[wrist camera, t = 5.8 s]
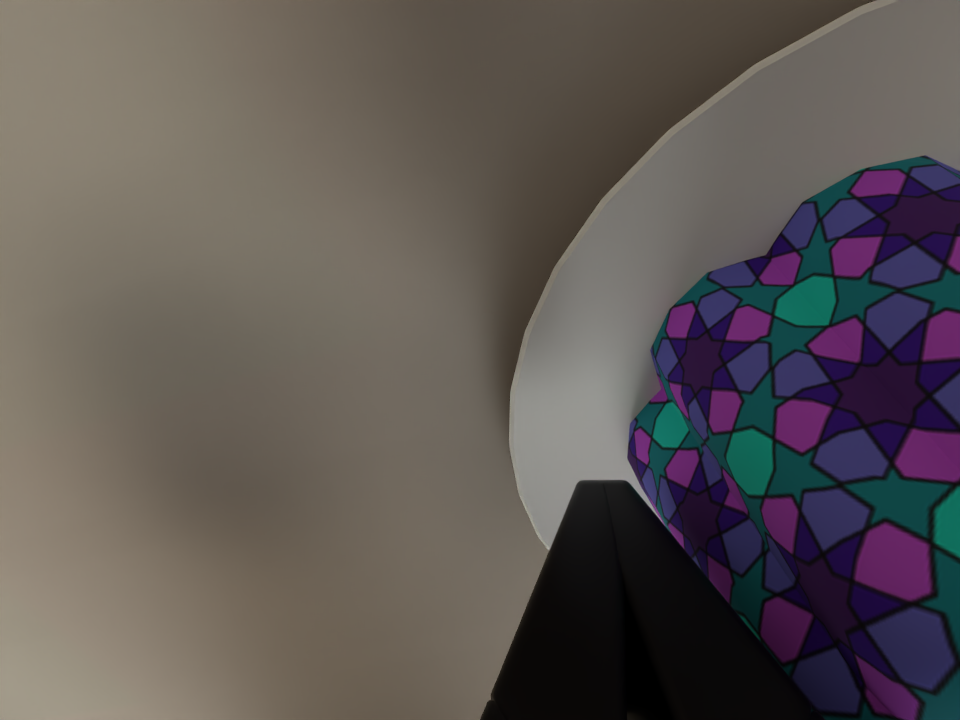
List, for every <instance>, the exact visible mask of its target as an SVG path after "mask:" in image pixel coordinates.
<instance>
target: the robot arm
mask: <svg viewBox="0 0 960 720" xmlns="http://www.w3.org/2000/svg"><path fill="white" fill-rule="evenodd" d="M811 710H812V705H811V703H810V701H809V700H808V699H807V698H806V696H805V695H804V694H803V693H802V692H801V690H800V689H799V688H798V687H797V685H796V684H795V683H794V682H793V681H792V679H791V678H790V677H789V676H788V675H787V673H786V672H785V671H784V670H783V668H782V667H781V666H780V665H779V664H778V662H777V661H776V660H775V659H774V658H773V656H772V655H771V654H770V653H769V652H768V650H767V649H766V648H765V647H764V645H763V644H762V643H761V642H760V641H759V639H758V638H757V637H756V636H755V635H754V633H753V632H752V631H751V630H750V628H749V627H748V626H747V625H746V624H745V622H744V621H743V620H742V619H741V618H740V616H739V615H738V614H737V613H736V611H735V610H734V609H733V608H732V607H731V605H730V604H729V603H728V602H727V601H726V599H725V598H724V597H723V596H722V594H721V593H720V592H719V591H718V590H717V588H716V587H715V586H714V585H713V584H712V582H711V581H710V580H709V579H708V577H707V576H706V575H705V574H704V573H703V571H702V570H701V569H700V568H699V567H698V565H697V564H696V563H695V562H694V560H693V559H692V558H691V557H690V556H689V554H688V553H687V552H686V551H685V550H684V548H683V547H682V546H681V545H680V543H679V542H678V541H677V540H676V539H675V537H674V536H673V535H672V534H671V533H670V531H669V530H668V529H667V528H666V526H665V525H664V524H663V523H662V522H661V520H660V519H659V518H658V517H657V516H656V514H655V513H654V512H653V511H652V509H651V508H650V507H649V506H648V505H647V503H646V502H645V501H644V500H643V499H642V497H641V496H640V495H639V494H638V492H637V491H636V490H635V489H634V488H633V486H632V485H631V484H630V483H629V482H628V481H626V480H580V481H579V482H578V483H577V484H576V486H575V489H574V491H573V494H572V496H571V499H570V501H569V503H568V506H567V508H566V511H565V513H564V516H563V518H562V521H561V523H560V526H559V528H558V531H557V533H556V535H555V538H554V540H553V543H552V545H551V548H550V550H549V553H548V555H547V558H546V560H545V563H544V565H543V567H542V570H541V572H540V575H539V577H538V580H537V582H536V585H535V587H534V590H533V592H532V594H531V597H530V599H529V602H528V604H527V607H526V609H525V612H524V614H523V617H522V619H521V622H520V624H519V626H518V629H517V631H516V634H515V636H514V639H513V641H512V644H511V646H510V649H509V651H508V654H507V656H506V658H505V661H504V663H503V666H502V668H501V671H500V673H499V676H498V678H497V681H496V683H495V685H494V688H493V690H492V693H491V700H489V701H488V702H487V704H486V707H485V709H484V711H483V714H482V716H481V719H480V720H825V719H824V718H823V717H822V715H821V714H820V713H819V712H818V711H812V712H811Z"/></svg>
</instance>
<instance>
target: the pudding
mask: <svg viewBox="0 0 960 720" xmlns="http://www.w3.org/2000/svg"><path fill="white" fill-rule="evenodd" d="M509 448H510V453H511V459H512V464H513V469H514V474H515V479H516V484H517V489H518V494H519V496H520V498H521V500H522V503H523V505H524V507H525V509H526V512H527V514H528V516H529V518H530V521H531V523H532V525H533V527H534V530H535V532H536V534H537V536H538V537H539V539H540V540H541V541H542V543H543V544H544V546H545V547H546V548H547V550H548V551H549V550H550V548H551V545H552V543H553V540H554V538H555V535H556V533H557V531H558V528H559V526H560V523H561V521H562V518H563V516H564V513H565V511H566V508H567V506H568V503H569V501H570V499H571V496H572V494H573V491H574V489H575V486H576V484H577V483H578V482H579V481H580V480H626V481H628V482H629V483H630V484H631V485H632V486H633V488H634V489H635V490H636V491H637V492H638V494H639V495H640V496H641V497H642V499H643V500H644V501H645V502H646V503H647V505H648V506H649V507H650V508H651V509H652V511H653V512H654V513H655V514H656V516H657V517H658V518H659V519H660V520H661V522H662V523H663V524H664V525H665V526H666V528H667V529H668V530H669V531H670V533H671V534H672V535H673V536H674V537H675V539H676V540H677V541H678V542H679V543H680V545H681V546H682V547H683V548H684V550H685V551H686V552H687V553H688V554H689V556H690V557H691V558H692V559H693V560H694V562H695V563H696V564H697V565H698V567H699V568H700V569H701V570H702V571H703V573H704V574H705V575H706V576H707V577H708V579H709V580H710V581H711V582H712V584H713V585H714V586H715V587H716V588H717V590H718V591H719V592H720V593H721V594H722V596H723V597H724V598H725V599H726V601H727V602H728V603H729V604H730V605H731V607H732V608H733V609H734V610H735V611H736V613H737V614H738V615H739V616H740V618H741V619H742V620H743V621H744V622H745V624H746V625H747V626H748V627H749V628H750V630H751V631H752V632H753V633H754V635H755V636H756V637H757V638H758V639H759V641H760V642H761V643H762V644H763V645H764V647H765V648H766V649H767V650H768V652H769V653H770V654H771V655H772V656H773V658H774V659H775V660H776V661H777V662H778V664H779V665H780V666H781V667H782V668H783V670H784V671H785V672H786V673H787V675H788V676H789V677H790V678H791V679H792V681H793V682H794V683H795V684H796V685H797V687H798V688H799V689H800V690H801V692H802V693H803V694H804V695H805V696H806V698H807V699H808V700H809V701H810V703H811V705H812V710H811V712H812V711H818V712H819V713H820V714H821V715H822V717H823V718H824V719H825V720H960V0H876V1H873V2H870V3H868V4H865V5H862V6H860V7H857V8H856V9H854V10H852V11H850V12H848V13H847V14H845V15H843V16H841V17H839V18H838V19H836V20H834V21H832V22H830V23H829V24H827V25H825V26H823V27H821V28H819V29H818V30H816V31H814V32H812V33H810V34H809V35H807V36H805V37H803V38H801V39H800V40H798V41H796V42H794V43H792V44H791V45H789V46H787V47H785V48H783V49H781V50H780V51H778V52H776V53H774V54H772V55H771V56H769V57H767V58H765V59H763V60H762V61H760V62H758V63H756V64H754V65H753V66H752V67H750V68H749V69H748V70H746V71H745V72H744V73H742V74H741V75H740V76H739V77H737V78H736V79H735V80H733V81H732V82H731V83H729V84H728V85H727V86H725V87H724V88H723V89H721V90H720V91H719V92H718V93H716V94H715V95H714V96H712V97H711V98H710V99H708V100H707V101H706V102H704V103H703V104H702V105H700V106H699V107H698V108H697V109H695V110H694V111H693V112H691V113H690V114H689V115H687V116H686V117H685V118H683V119H682V120H681V121H680V122H678V123H677V124H676V125H674V126H673V127H672V128H670V129H669V130H668V131H667V132H666V133H665V134H664V135H663V136H662V137H661V138H660V139H659V140H658V141H657V142H656V143H655V144H654V145H653V146H652V147H651V148H650V149H649V150H648V151H647V153H646V154H645V155H644V156H643V157H642V158H641V159H640V160H639V161H638V162H637V163H636V164H635V165H634V166H633V167H632V168H631V169H630V170H629V171H628V172H627V173H626V174H625V175H624V176H623V177H622V178H621V179H620V180H619V181H618V183H617V184H616V185H615V186H614V187H613V188H612V189H611V190H610V191H609V192H608V193H607V194H606V195H605V196H604V197H603V198H602V199H601V201H600V202H599V203H598V205H597V206H596V208H595V209H594V211H593V212H592V214H591V215H590V216H589V218H588V219H587V221H586V222H585V224H584V225H583V226H582V228H581V229H580V231H579V232H578V234H577V235H576V237H575V238H574V239H573V241H572V242H571V244H570V245H569V247H568V248H567V250H566V251H565V252H564V254H563V255H562V257H561V258H560V260H559V261H558V262H557V264H556V265H555V267H554V269H553V271H552V273H551V275H550V278H549V280H548V282H547V284H546V286H545V288H544V291H543V293H542V295H541V297H540V299H539V302H538V304H537V306H536V308H535V310H534V312H533V315H532V317H531V319H530V321H529V323H528V325H527V328H526V330H525V332H524V337H523V341H522V345H521V349H520V353H519V357H518V361H517V366H516V370H515V374H514V378H513V382H512V386H511V390H510V422H509Z"/></svg>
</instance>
